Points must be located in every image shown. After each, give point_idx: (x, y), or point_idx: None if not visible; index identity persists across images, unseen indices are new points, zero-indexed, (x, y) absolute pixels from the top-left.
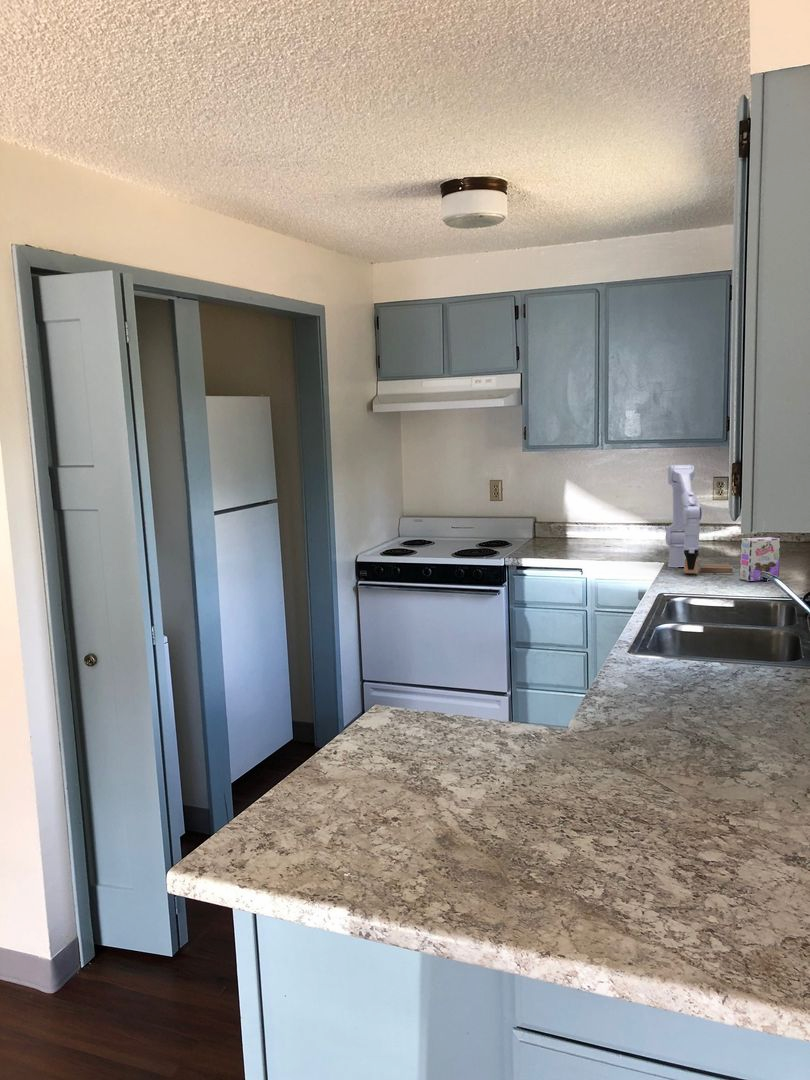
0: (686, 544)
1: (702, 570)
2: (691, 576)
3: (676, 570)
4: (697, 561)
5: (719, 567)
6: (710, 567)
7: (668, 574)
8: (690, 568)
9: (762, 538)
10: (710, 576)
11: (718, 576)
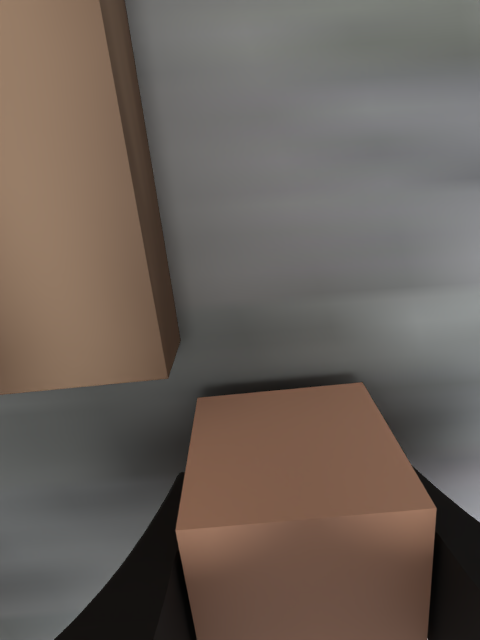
0: None
1: (170, 340)
2: (441, 420)
3: (45, 578)
4: (433, 503)
5: (14, 71)
6: (92, 240)
7: None
8: None
9: None
10: (395, 205)
11: (370, 87)
